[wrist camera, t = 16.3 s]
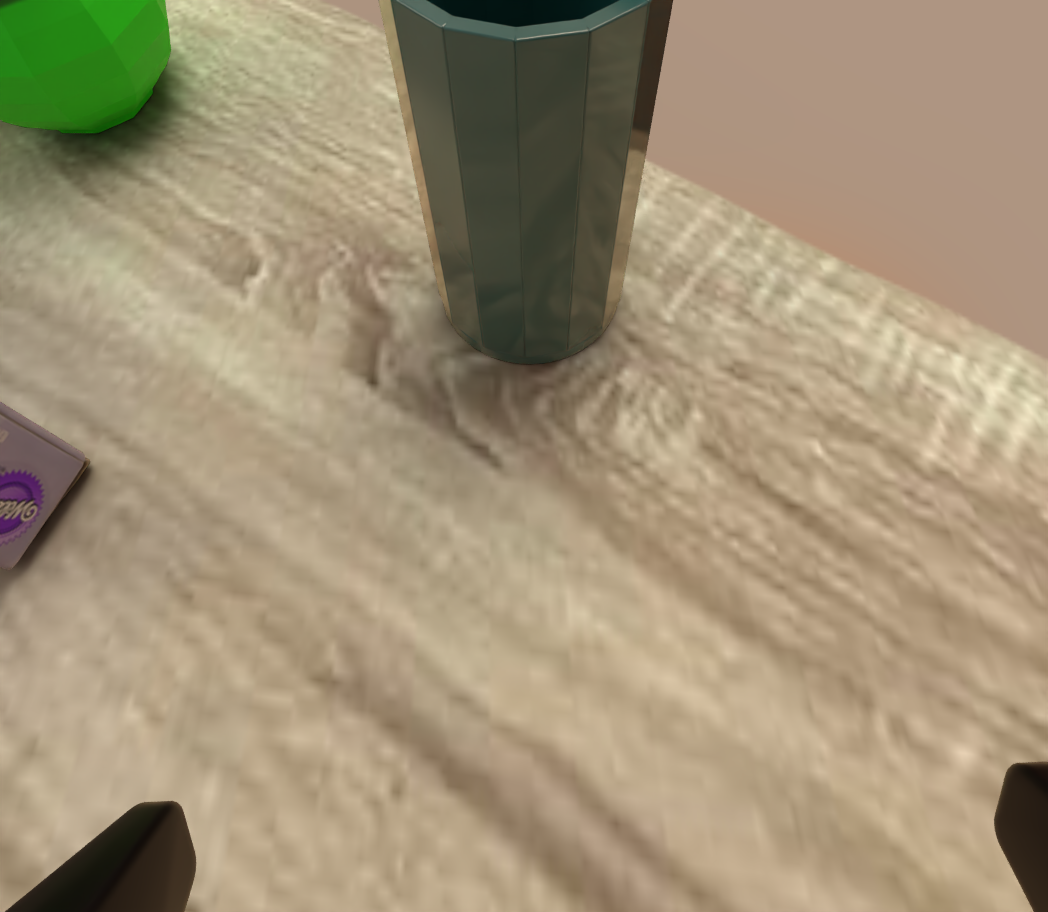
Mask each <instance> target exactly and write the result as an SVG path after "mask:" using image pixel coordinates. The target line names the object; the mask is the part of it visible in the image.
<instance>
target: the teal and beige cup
mask: <svg viewBox="0 0 1048 912" xmlns="http://www.w3.org/2000/svg"><path fill="white" fill-rule="evenodd" d="M378 1H379V6H380V10H381V15H382V20H383V25H384V30H385V35H386V39H387V44H388V49H389V54H390V59H391V64H392V68H393V73H394V78H395V83H396V88H397V93H398V97H399V102H400V107H401V112H402V117H403V121H404V126H405V131H406V136H407V141H408V146H409V150H410V155H411V160H412V165H413V170H414V175H415V179H416V184H417V189H418V194H419V199H420V204H421V208H422V213H423V218H424V223H425V228H426V232H427V237H428V242H429V247H430V252H431V257H432V261H433V266H434V271H435V276H436V281H437V286H438V290H439V294H440V296H441V298H442V301H443V305H444V309H445V312H446V314H447V317H448V319H449V321H450V323H451V325H452V326H453V328H454V329H455V330H456V332H457V333H458V334H459V335H460V336H461V337H462V338H463V339H464V340H465V341H466V342H467V343H468V344H470V345H471V346H472V347H474V348H475V349H477V350H479V351H480V352H482V353H484V354H486V355H488V356H491V357H493V358H496V359H499V360H503V361H506V362H512V363H518V364H541V363H548V362H553V361H557V360H560V359H564V358H567V357H569V356H571V355H574V354H576V353H578V352H579V351H581V350H583V349H585V348H586V347H588V346H589V345H590V344H591V343H593V342H594V341H595V340H596V339H597V338H598V337H599V336H600V335H601V334H602V333H603V332H604V331H605V329H606V328H607V327H608V325H609V324H610V322H611V320H612V318H613V316H614V314H615V311H616V308H617V304H618V302H619V300H620V298H621V292H622V287H623V281H624V275H625V270H626V264H627V258H628V253H629V247H630V241H631V236H632V230H633V224H634V219H635V213H636V207H637V202H638V196H639V190H640V185H641V179H642V173H643V168H644V162H645V156H646V151H647V145H648V139H649V134H650V128H651V122H652V116H653V111H654V105H655V100H656V94H657V88H658V83H659V77H660V72H661V66H662V60H663V54H664V48H665V43H666V37H667V32H668V26H669V20H670V15H671V9H672V3H673V0H378Z"/></svg>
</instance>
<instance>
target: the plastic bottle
mask: <svg viewBox="0 0 1048 912" xmlns="http://www.w3.org/2000/svg"><path fill="white" fill-rule="evenodd" d="M170 52H171V45H170V36H169V27H168V19H167V12H166V4H165V0H0V120H2V121H3V122H6V123H10V124H14V125H17V126H21V127H28V128H40V129H48V130H58V131H60V132H61V133H100V132H103V131H105V130H107V129H109V128H112V127H114V126H116V125H118V124H121V123H123V122H125V121H127V120H130V119H132V118H134V117H135V115H136V114H137V113H138V112H139V110H140V109H141V108H142V107H143V105H144V104H145V103H146V102H147V100H148V99H149V98H150V97H151V95H152V94H153V86H154V85H155V84H156V82H157V80H158V79H159V77H160V75H161V73H162V72H163V70H164V69H165V67H166V66H167V62H168V59H169V56H170Z"/></svg>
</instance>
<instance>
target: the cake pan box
mask: <svg viewBox="0 0 1048 912" xmlns="http://www.w3.org/2000/svg"><path fill="white" fill-rule="evenodd" d="M89 464H90V460H89V459H87V458H86V457H85V455H84V454H83V453H82V452H81V451H79V450H77V449H76V448H74V447H72V446H71V445H69V444H68V443H66V442H64V441H63V440H61V439H60V438H58V437H56V436H55V435H53V434H52V433H50V432H48V431H47V430H45V429H44V428H42V427H41V426H39V425H37V424H36V423H34V422H32V421H31V420H29V419H27V418H26V417H24V416H22V415H21V414H19V413H17V412H16V411H14V410H13V409H11V408H10V407H8V406H6V405H5V404H3V403H2V402H0V567H1V568H4V569H11V568H12V567H14V566H15V565H16V563H17V562H18V561H19V559H20V558H21V556H22V555H23V554H24V552H25V551H26V549H27V548H28V546H29V545H30V543H31V542H32V540H33V539H34V538H35V536H36V535H37V533H38V532H39V530H40V529H41V527H42V526H43V524H44V523H45V522H46V520H47V519H48V517H49V516H50V515H51V513H52V512H53V511H54V510H55V508H56V507H57V506H58V504H59V503H60V502H61V500H62V499H63V497H64V496H65V495H66V494H67V493H68V491H69V490H70V489H71V488H72V486H73V485H74V484H75V483H76V482H77V480H78V479H79V477H80V476H81V474H82V473H83V472H84V470H85V469H86V468H87V466H88V465H89Z"/></svg>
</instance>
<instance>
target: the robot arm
mask: <svg viewBox="0 0 1048 912" xmlns="http://www.w3.org/2000/svg"><path fill="white" fill-rule="evenodd" d="M994 826H995V832H996V836H997V839H998V842H999V844H1000V846H1001V848H1002V850H1003V852H1004V854H1005V856H1006V858H1007V860H1008V862H1009V864H1010V866H1011V868H1012V870H1013V872H1014V874H1015V876H1016V878H1017V880H1018V882H1019V884H1020V885H1021V887H1022V889H1023V891H1024V893H1025V895H1026V897H1027V899H1028V901H1029V903H1030V905H1031V907H1032V909H1033V911H1034V912H1048V762H1028V763H1016V764H1013V765H1012V766H1011V767H1009V769H1008V770H1007V772H1006V775H1005V778H1004V782H1003V786H1002V790H1001V794H1000V798H999V801H998V805H997V809H996V813H995V818H994ZM195 871H196V855H195V851H194V847H193V843H192V840H191V836H190V833H189V829H188V826H187V822H186V819H185V815H184V812H183V809H182V807H181V806H180V805H179V804H178V803H177V802H174V801H162V802H144V803H140V804H138V805H136V806H134V807H133V808H131V809H130V810H129V811H127V812H126V813H125V814H124V815H122V816H121V817H120V818H119V819H118V820H116V821H115V822H114V823H113V824H111V825H110V826H109V827H108V828H107V829H105V830H104V831H103V832H102V833H100V834H99V835H98V836H97V837H96V838H94V839H93V840H92V841H91V842H89V843H88V844H87V845H86V846H85V847H83V848H82V849H81V850H80V851H78V852H77V853H76V854H75V855H74V856H72V857H71V858H70V859H69V860H67V861H66V862H65V863H64V864H63V865H61V866H60V867H59V868H58V869H56V870H55V871H54V872H53V873H52V874H50V875H49V876H48V877H47V878H46V879H44V880H43V881H42V882H41V883H39V884H38V885H37V886H36V887H35V888H33V889H32V890H31V891H30V892H28V893H27V894H26V895H25V896H24V897H22V898H21V899H20V900H19V901H17V902H16V903H15V904H14V905H13V906H11V907H10V908H9V909H8V910H6V911H5V912H184V911H185V908H186V905H187V901H188V898H189V895H190V891H191V888H192V885H193V881H194V877H195Z"/></svg>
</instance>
